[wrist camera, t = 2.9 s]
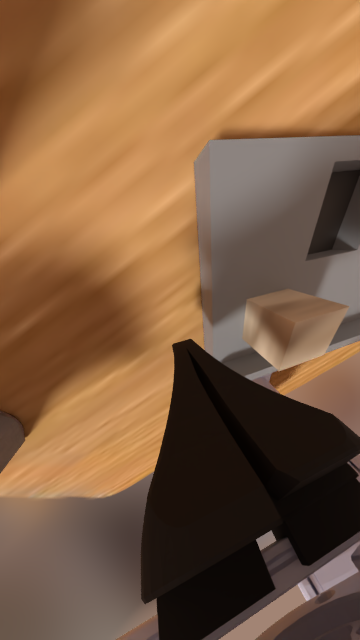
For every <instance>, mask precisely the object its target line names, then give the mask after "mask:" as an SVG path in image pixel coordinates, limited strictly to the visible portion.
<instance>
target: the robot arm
mask: <svg viewBox="0 0 360 640" xmlns="http://www.w3.org/2000/svg"><path fill="white" fill-rule="evenodd" d="M172 347H173V352H174V383H173V391H172V398H171V404H170V410H169V415H168V420H167V425H166V429H165V433H164V437H163V441H162V445H161V449H160V453H159V457H158V461H157V464H156V468H155V471H154V474H153V478H152V482H151V485H150V488H149V492H148V496H147V503H146V509H145V516H144V524H143V533H142V543H141V599H142V601H143V602H144V603H145V604H146V603H148V602H150V601H152V600H154V599H156V598H157V613H158V614H157V615H155V616H153V617H152V618H150V619H149V620H147V621H145V622H144V623H142V624H140V625H139V626H137V627H136V628H134V629H132V630H131V631H129V632H127V633H126V634H124V635H123V636H121V637H119V638H118V639H116V640H218V639H220V638H221V637H223V636H224V635H226V634H227V633H228V632H230V631H231V630H233V629H234V628H236V627H237V626H238V625H240V624H241V623H243V622H244V621H246V620H247V619H248V618H250V617H251V616H253V615H254V614H256V613H257V612H258V611H260V610H261V609H263V608H264V607H266V606H267V605H268V604H270V603H271V602H273V601H274V600H276V599H277V598H278V597H280V596H281V595H283V594H284V593H286V592H287V591H288V590H290V589H291V588H293V587H294V586H296V585H298V587H299V588H300V590H301V592H302V594H303V596H304V597H305V599H306V601H307V602H305V603H303V604H302V605H300V606H298V607H297V608H296V609H294V610H292V611H291V612H289V613H288V614H286V615H285V616H284V617H282V618H281V619H280V620H278V621H277V622H276V623H275V624H273V625H272V626H271V627H269V628H268V629H267V630H266V631H264V632H263V633H262V634H261V635H260V636H259V637H258V638H256V639H255V640H360V455H358V454H360V437H359V436H358V435H357V434H355V433H354V432H353V431H352V430H351V429H350V428H348V427H347V426H346V425H345V424H344V423H343V422H341V421H340V420H339V419H338V418H336V417H335V416H334V415H333V414H331V413H328V412H325V411H322V410H320V409H317V408H314V407H311V406H309V405H306V404H304V403H300V402H298V401H296V400H293V399H291V398H288V397H286V396H284V395H281V394H280V393H279V392H278V391H277V390H276V389H275V388H274V387H273V386H272V385H271V384H270V383H269V380H270V377H271V374H272V373H270V374H267V375H264V376H262V377H259V378H256V379H253V380H250V379H248V378H246V377H244V376H242V375H241V374H239V373H237V372H235V371H234V370H232V369H230V368H229V367H227V366H226V365H224V364H223V363H221V362H220V361H218V360H217V359H215V358H214V357H213V356H211V355H210V354H209V353H207V352H206V351H205V350H204V349H202V348H201V347H200V346H199V345H198V344H196V343H195V342H194V341H193V340H192V339H188V340H185V341H181V342H178V343H174V344H173V345H172ZM270 530H272V532H273V534H274V536H275V538H276V541H275V542H274V543H272V544H271V545H269V546H267V547H266V548H264V549H262V550H261V551H260V549H259V546H258V544H257V542H256V539H257V538H259V537H260V536H262V535H264V534H266V533H267V532H269V531H270Z"/></svg>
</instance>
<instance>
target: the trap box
mask: <svg viewBox="0 0 360 640" xmlns="http://www.w3.org/2000/svg"><path fill="white" fill-rule="evenodd" d="M194 171H195V189H196V206H197V223H198V241H199V258H200V276H201V293H202V310H203V328H204V345H205V351H206V352H207V353H209V354H210V355H211V356H213V357H214V358H215V359H217V360H218V361H220V362H221V363H223V364H224V365H226V366H227V367H229V368H230V369H232V370H234V371H235V372H237V373H239V374H241V375H242V376H244V377H246V378H248V379H250V380H253V379H256V378H259V377H262V376H264V375H267V374H270V373H273V372H275V371H278V370H277V369H276V368H275V367H274V366H273V365H271V364H270V363H269V362H268V361H267V360H266V359H265V358H264V357H262V356H261V355H260V354H259V353H258V352H257V351H256V350H254V349H253V348H252V347H251V346H250V345H249V344H248V343H247V342H245V341H244V340H243V339H242V336H243V327H244V319H245V310H246V301H247V299H249V298H253V297H257V296H261V295H265V294H269V293H273V292H277V291H281V290H285V289H291V290H294V291H298V292H301V293H305V294H308V295H312V296H315V297H319V298H322V299H326V300H329V301H333V302H336V303H340V304H343V305H347V306H350V307H349V309H348V310H347V312H346V314H345V316H344V318H343V320H342V322H341V324H340V326H339V327H338V329H337V331H336V333H335V335H334V337H333V339H332V341H331V343H330V344H329V346H328V348H327V350H326V352H325V353H327V352H330V351H333V350H335V349H338V348H341V347H344V346H346V345H349V344H352V343H355V342H357V341H360V135H352V136H321V137H290V138H259V139H228V140H209V141H208V143H207V144H206V146H205V147H204V149H203V150H202V151H201V153H200V154H199V156H198V157H197V159H196V160H195V162H194Z"/></svg>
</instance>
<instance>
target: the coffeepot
mask: <svg viewBox="0 0 360 640" xmlns="http://www.w3.org/2000/svg"><path fill="white" fill-rule="evenodd" d="M24 441H25V436H24V430H23V426H22V425H21V423H20V422H19V421H18V420H17V419H16V418H15V417H13V416H11V415H9V414H7V413H5V412H2V411H0V473H1V472H2V471H3V469H4V468H5V467H6V465H7V464H8V463H9V461H10V460H11V459H12V457H13V456H14V455H15V453H16V452H17V451H18V449H19V448H20V447H21V445H22V444H23V443H24Z"/></svg>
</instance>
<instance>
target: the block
mask: <svg viewBox="0 0 360 640" xmlns="http://www.w3.org/2000/svg"><path fill="white" fill-rule="evenodd" d="M349 307H350V306H347V305H343V304H340V303H336V302H333V301H329V300H326V299H322V298H319V297H315V296H312V295H308V294H305V293H301V292H298V291H294V290H291V289H285V290H281V291H277V292H273V293H269V294H265V295H261V296H257V297H253V298H249V299H247V301H246V310H245V319H244V327H243V336H242V339H243V340H244V341H245V342H247V343H248V344H249V345H250V346H251V347H252V348H253V349H254V350H256V351H257V352H258V353H259V354H260V355H261V356H262V357H264V358H265V359H266V360H267V361H268V362H269V363H270V364H271V365H273V366H274V367H275V368H276V369H277V370H278V371H281V370H284V369H287V368H290V367H292V366H295V365H298V364H300V363H303V362H306V361H309V360H311V359H314V358H317V357H320V356H322V355H324V354H325V352H326V350H327V348H328V346H329V344H330V343H331V341H332V339H333V337H334V335H335V333H336V331H337V329H338V327H339V326H340V324H341V322H342V320H343V318H344V316H345V314H346V312H347V310H348V309H349Z"/></svg>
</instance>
